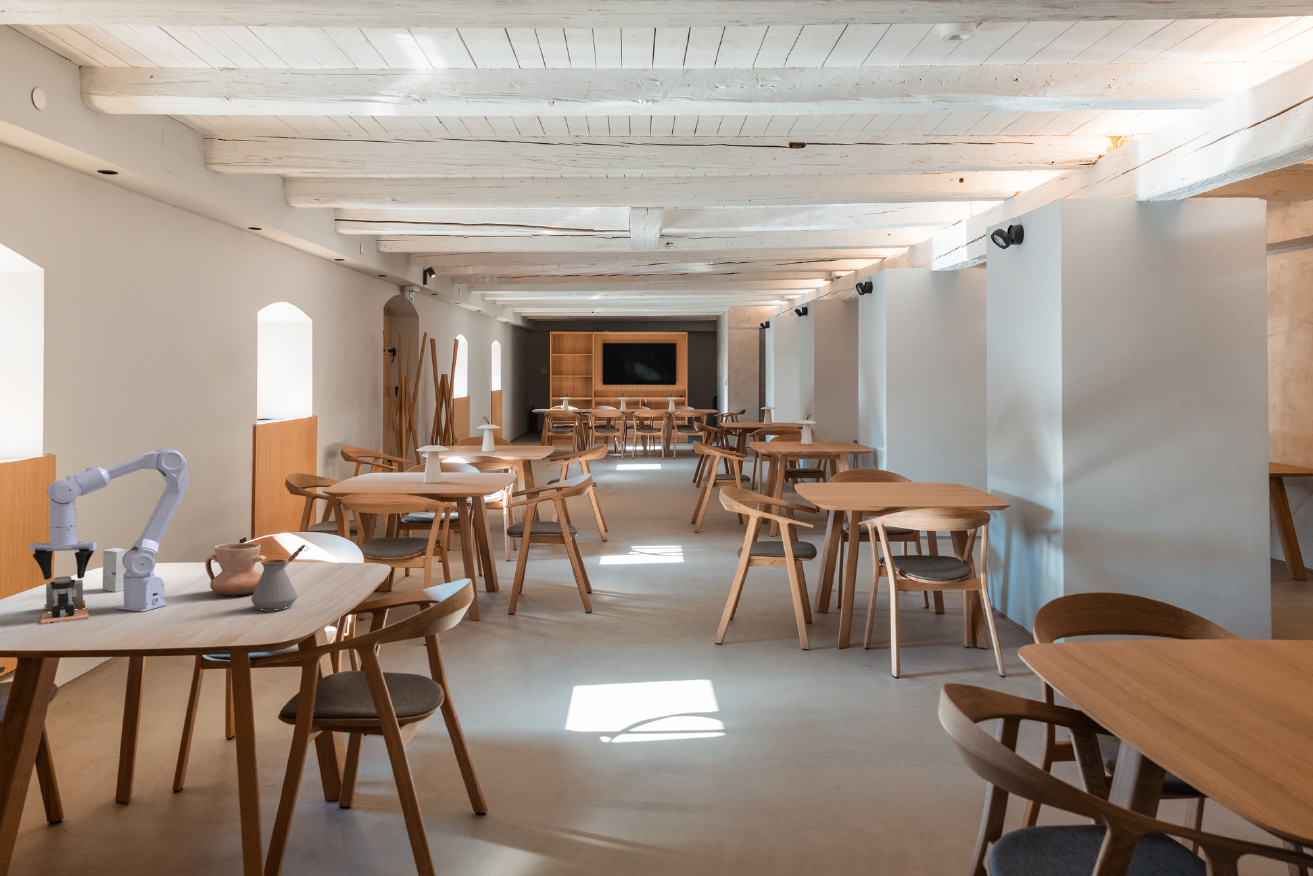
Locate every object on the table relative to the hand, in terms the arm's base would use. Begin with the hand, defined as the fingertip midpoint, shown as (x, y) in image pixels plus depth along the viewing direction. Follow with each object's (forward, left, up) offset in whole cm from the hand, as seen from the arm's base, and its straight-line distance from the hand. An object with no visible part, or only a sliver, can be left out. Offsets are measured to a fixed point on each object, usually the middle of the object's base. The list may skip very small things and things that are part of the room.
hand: (64, 578), depth 218 cm
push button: (0, +2, -10) cm, 10 cm away
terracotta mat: (0, 0, -10) cm, 10 cm away
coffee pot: (-43, -30, -10) cm, 53 cm away
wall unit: (+8, -7, -10) cm, 15 cm away
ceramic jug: (-21, -36, -10) cm, 43 cm away
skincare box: (+15, -28, -10) cm, 34 cm away
